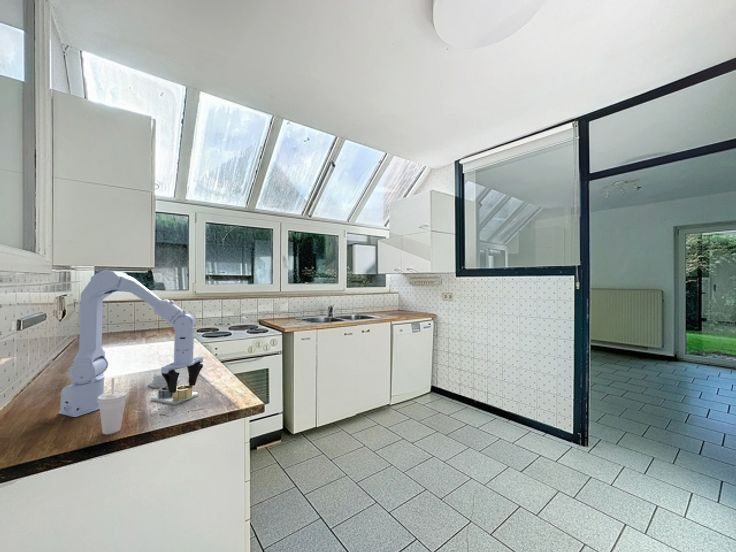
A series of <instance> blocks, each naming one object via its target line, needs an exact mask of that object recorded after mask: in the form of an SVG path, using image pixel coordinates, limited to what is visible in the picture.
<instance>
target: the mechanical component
mask: <svg viewBox="0 0 736 552" xmlns="http://www.w3.org/2000/svg"><path fill="white" fill-rule="evenodd" d="M152 379H153V380H150V381H149V382H148V383H149V384H148V385H149V387H151V388H155V389H156V388H158V389H159V388H161V387H164V386H166V385H167V382H166V380H165V379H164V377H163V376H162V373H161V371H158V372H156V373H154V374H153V377H152ZM180 381H181V380H180V377H178V380H177V384H179V383H180Z"/></svg>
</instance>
